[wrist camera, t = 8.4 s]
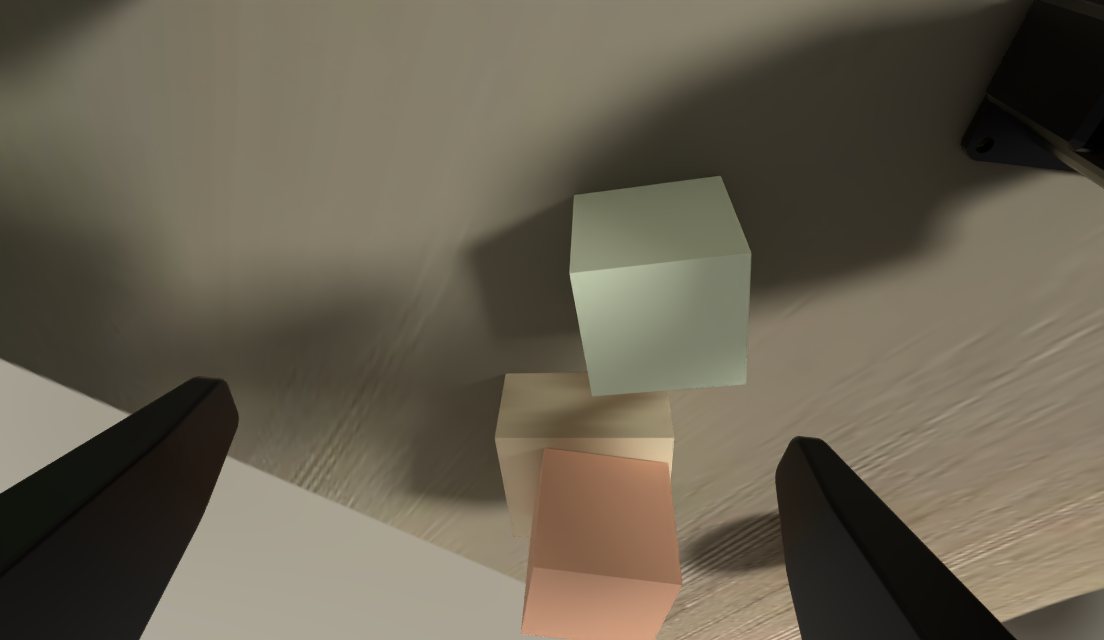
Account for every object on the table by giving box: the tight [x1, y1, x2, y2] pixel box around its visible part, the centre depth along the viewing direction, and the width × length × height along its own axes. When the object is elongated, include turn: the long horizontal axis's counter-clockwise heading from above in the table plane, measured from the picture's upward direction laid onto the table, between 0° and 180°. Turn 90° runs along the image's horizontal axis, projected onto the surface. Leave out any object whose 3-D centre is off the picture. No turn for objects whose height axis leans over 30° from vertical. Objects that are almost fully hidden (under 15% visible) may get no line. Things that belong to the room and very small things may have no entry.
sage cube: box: [569, 176, 751, 396], centre depth 20 cm, size 5×5×5 cm
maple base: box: [495, 373, 674, 537], centre depth 27 cm, size 7×7×4 cm
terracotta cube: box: [521, 448, 682, 640], centre depth 23 cm, size 5×5×5 cm
